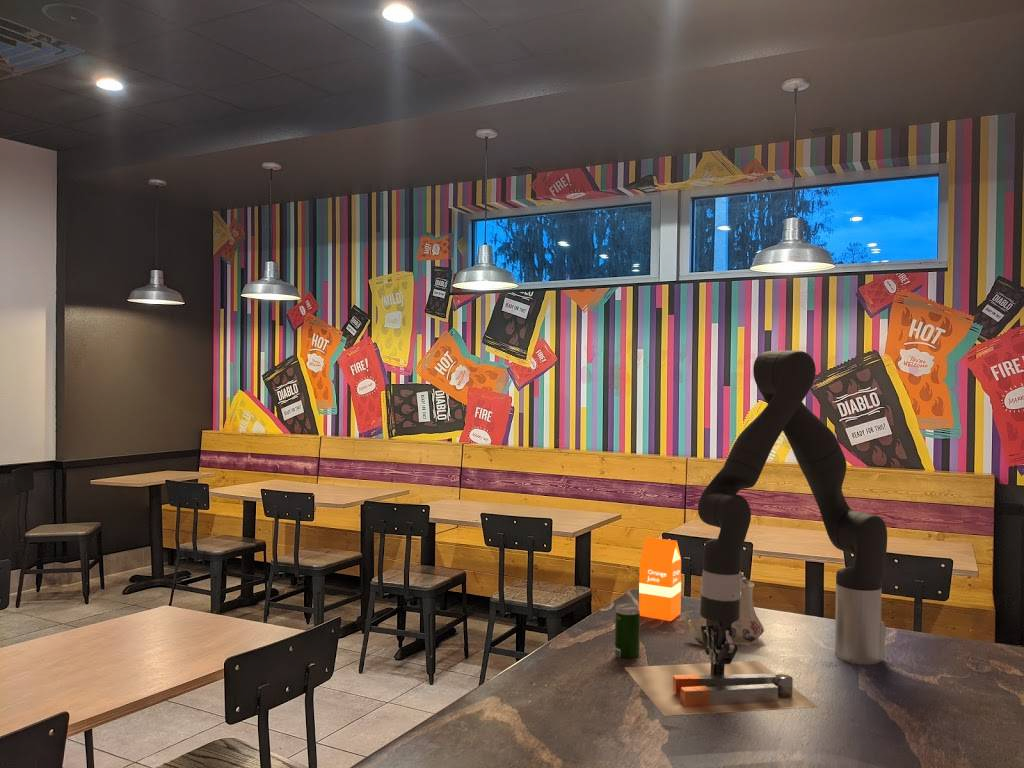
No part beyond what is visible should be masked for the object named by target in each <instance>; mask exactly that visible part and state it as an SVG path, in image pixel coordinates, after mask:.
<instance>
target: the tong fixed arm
mask: <svg viewBox="0 0 1024 768" xmlns="http://www.w3.org/2000/svg"><path fill="white" fill-rule="evenodd" d="M769 702H778V687H777V686H776V685H775V684H756V685H737V686H719V687H707V686H696V687H681V704H682V705H683V707H684V708H688V707H705V706H718V705H735V704H752V703H769Z"/></svg>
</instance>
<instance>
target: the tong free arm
mask: <svg viewBox="0 0 1024 768" xmlns="http://www.w3.org/2000/svg"><path fill="white" fill-rule="evenodd" d="M793 681H794V679H793V677H792V676H791V675H789V674H783V673H778V674H776V675H774V674H733V675H673V692H674V693H675V694H676V695H681V687H696V686H707V687H719V686H737V685H756V684H775V685H776V686H777V687H778V696H781V697H791V696H792V691H793V688H794V686H793V684H794V683H793Z"/></svg>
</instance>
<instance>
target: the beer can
mask: <svg viewBox="0 0 1024 768" xmlns="http://www.w3.org/2000/svg"><path fill="white" fill-rule="evenodd" d="M614 612H615V613H614V615H615V616H614V617H615V618H614V627H615V628H614V658H615V657H617V658H621V659H626V660H633V659H637V658H639V657H640V649H641V648H640V638H641V636H640V634H641V631H640V630H641V616H640V611H639V605H637V604H633V603H619V604H616V608H615V611H614Z"/></svg>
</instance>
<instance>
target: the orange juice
mask: <svg viewBox="0 0 1024 768" xmlns="http://www.w3.org/2000/svg"><path fill="white" fill-rule="evenodd" d="M680 553H681V552H680V549H679V545H678V540H673V539H664V538H655V537H650V536H648V537H647V536H646V537H645V540H644V542H643V546H642V551H641V556H640V559H639V582H638V590H639V591H638V594H639V595H638V599H639V600H638V601H639V602H638V606H639V611H640V617H646V618H650V619H651V618H652V619H656V620H662V621H668V622H671V621H673V620H674V619H676V617H679V615H681V606H682V605H681V604H682V603H681V598H682V596H681V594H682V558H681V557H682V556H681V554H680Z"/></svg>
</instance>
